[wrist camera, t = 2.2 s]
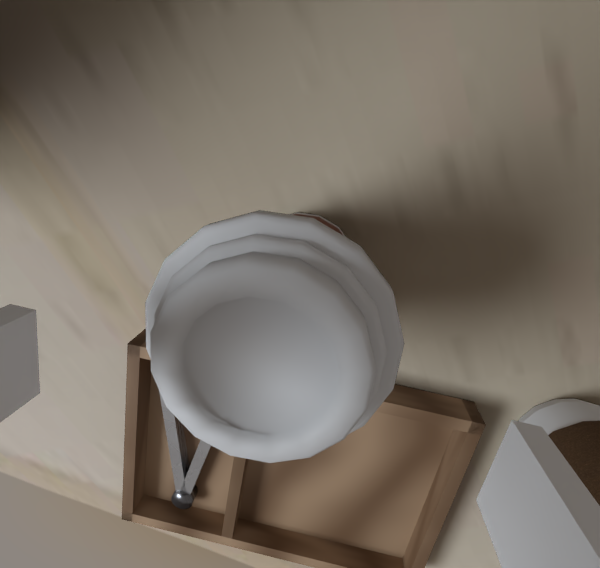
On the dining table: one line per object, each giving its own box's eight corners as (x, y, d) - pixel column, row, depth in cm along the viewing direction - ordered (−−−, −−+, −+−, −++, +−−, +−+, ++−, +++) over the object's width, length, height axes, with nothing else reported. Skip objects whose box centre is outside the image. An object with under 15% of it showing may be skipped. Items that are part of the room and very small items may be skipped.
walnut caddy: (137, 494, 30) (121, 519, 28) (145, 328, 25) (127, 343, 23) (409, 561, 29) (413, 592, 27) (473, 401, 24) (485, 424, 22)
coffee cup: (378, 182, 21) (417, 211, 9) (379, 333, 23) (411, 497, 12) (218, 193, 22) (81, 231, 11) (237, 336, 25) (146, 486, 13)
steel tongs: (217, 504, 29) (213, 516, 28) (156, 488, 29) (149, 501, 28) (235, 387, 25) (230, 397, 24) (164, 371, 26) (156, 380, 25)
